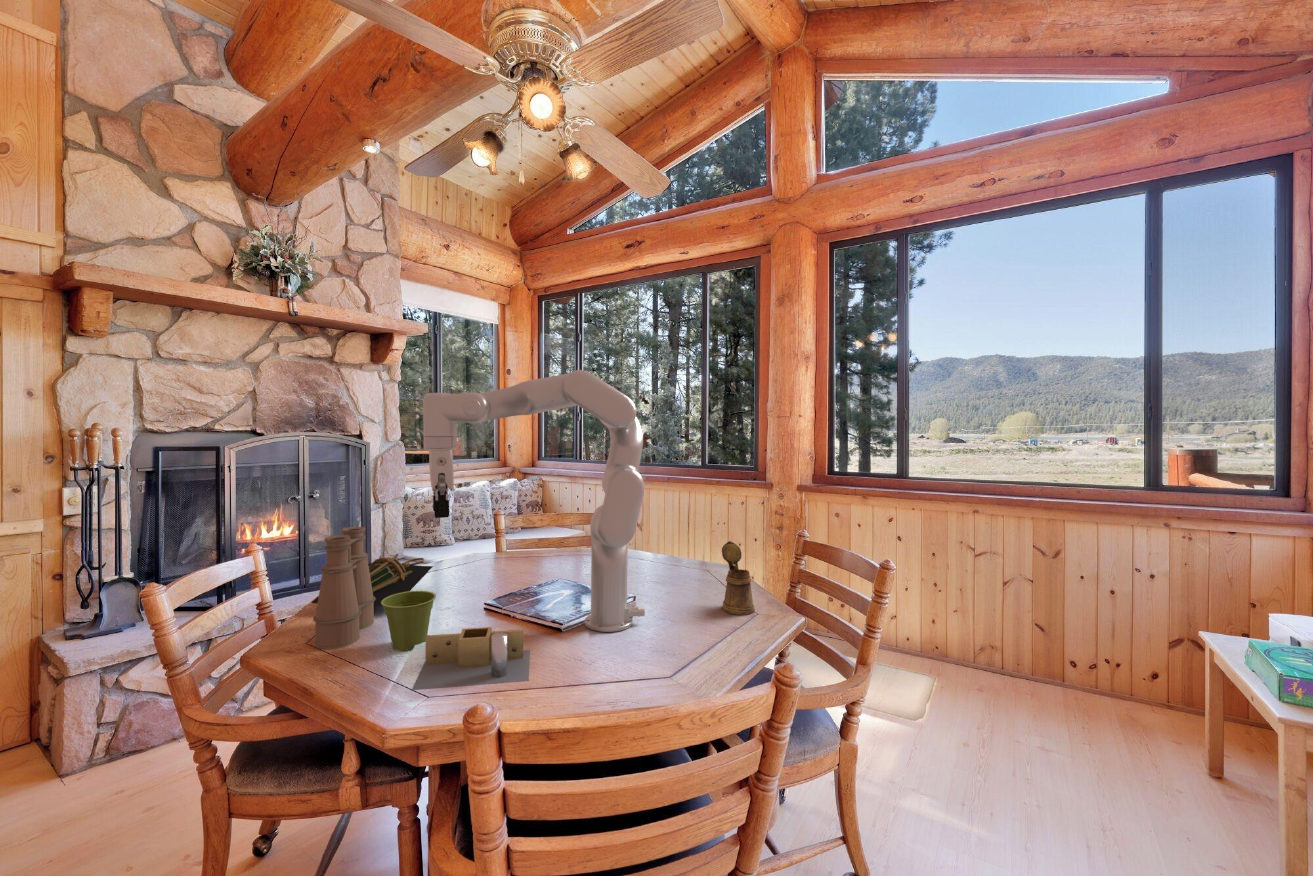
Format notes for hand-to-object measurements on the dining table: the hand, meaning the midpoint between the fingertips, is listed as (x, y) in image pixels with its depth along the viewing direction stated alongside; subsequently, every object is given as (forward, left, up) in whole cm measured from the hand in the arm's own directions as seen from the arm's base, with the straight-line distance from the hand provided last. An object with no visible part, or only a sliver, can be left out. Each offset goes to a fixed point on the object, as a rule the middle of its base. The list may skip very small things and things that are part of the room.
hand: (440, 514), depth 134 cm
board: (-11, +22, -30) cm, 39 cm away
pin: (-16, +26, -29) cm, 42 cm away
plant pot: (+6, +4, -31) cm, 31 cm away
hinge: (-10, +18, -29) cm, 36 cm away
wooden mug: (-80, -9, -31) cm, 86 cm away
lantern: (+22, -34, -31) cm, 51 cm away
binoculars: (+23, -7, -31) cm, 39 cm away
